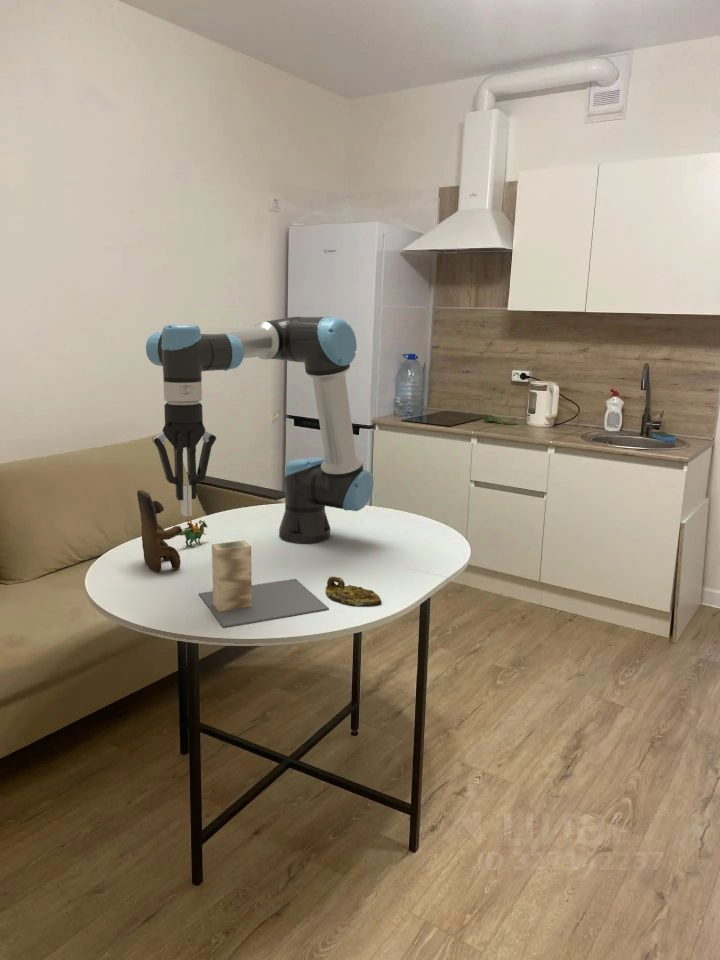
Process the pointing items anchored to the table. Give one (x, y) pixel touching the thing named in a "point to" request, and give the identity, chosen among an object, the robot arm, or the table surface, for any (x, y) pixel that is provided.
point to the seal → (350, 594)
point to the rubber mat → (269, 603)
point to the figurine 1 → (156, 534)
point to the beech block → (232, 575)
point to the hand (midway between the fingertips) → (186, 514)
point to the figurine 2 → (193, 532)
